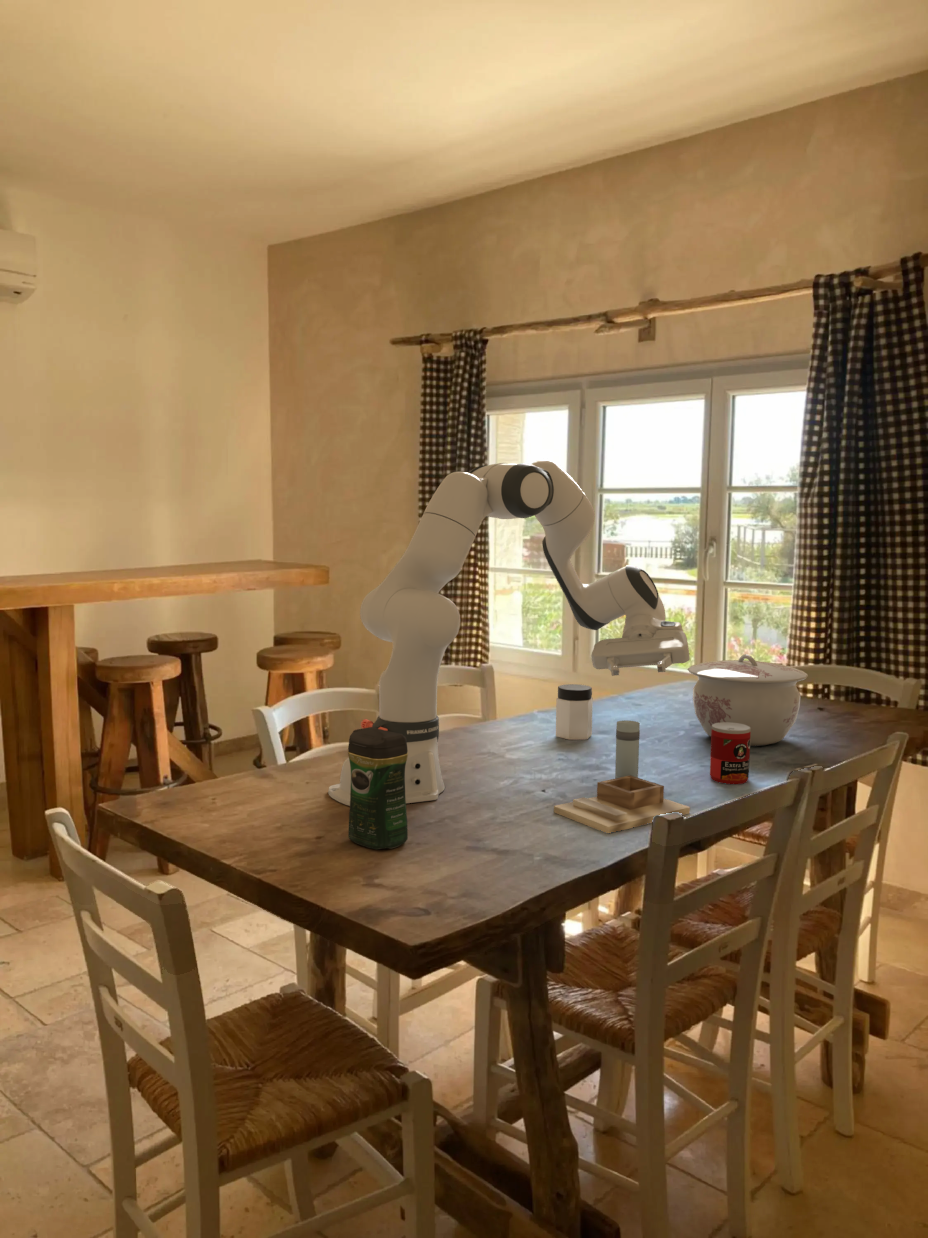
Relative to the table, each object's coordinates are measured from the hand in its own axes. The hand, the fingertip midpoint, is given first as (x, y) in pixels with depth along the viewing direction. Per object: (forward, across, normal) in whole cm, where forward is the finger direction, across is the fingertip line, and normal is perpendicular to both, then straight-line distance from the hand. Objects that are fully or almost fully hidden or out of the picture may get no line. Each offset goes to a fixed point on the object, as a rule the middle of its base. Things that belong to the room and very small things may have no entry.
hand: (637, 670), depth 197 cm
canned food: (+7, +16, +23) cm, 29 cm away
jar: (-21, -21, +29) cm, 41 cm away
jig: (+33, -2, +10) cm, 35 cm away
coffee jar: (+58, -37, -4) cm, 69 cm away
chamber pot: (-28, +18, +37) cm, 50 cm away
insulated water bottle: (+18, -3, +16) cm, 24 cm away
